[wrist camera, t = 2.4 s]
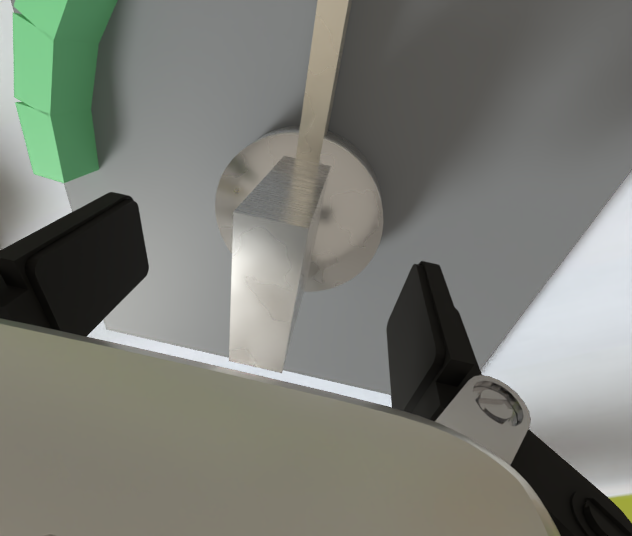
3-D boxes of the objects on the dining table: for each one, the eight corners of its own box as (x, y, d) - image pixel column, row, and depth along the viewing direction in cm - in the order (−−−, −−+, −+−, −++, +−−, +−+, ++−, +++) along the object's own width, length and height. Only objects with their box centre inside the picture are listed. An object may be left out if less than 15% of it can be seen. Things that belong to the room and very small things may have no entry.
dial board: (446, 392, 26) (458, 439, 22) (118, 316, 26) (83, 352, 23) (808, -121, 10) (1025, -213, 7) (-35, -296, 10) (-221, -464, 7)
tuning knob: (358, 284, 18) (355, 406, 12) (228, 254, 19) (152, 360, 12) (461, -33, 11) (622, -196, 4) (236, -82, 11) (28, -319, 4)
